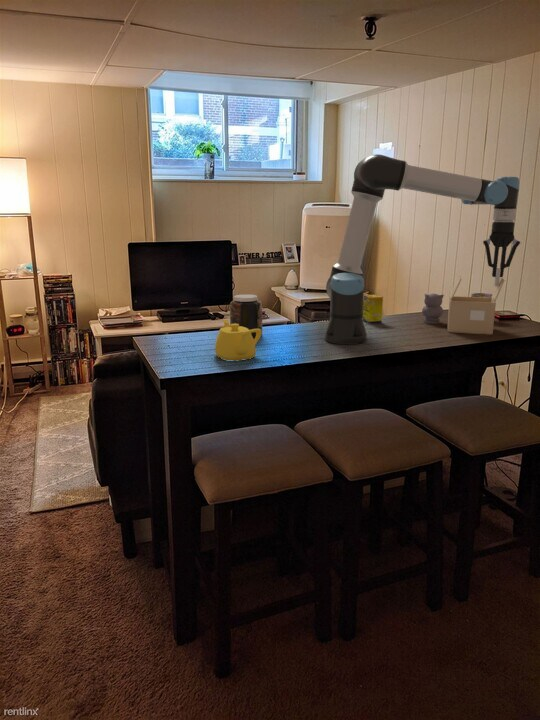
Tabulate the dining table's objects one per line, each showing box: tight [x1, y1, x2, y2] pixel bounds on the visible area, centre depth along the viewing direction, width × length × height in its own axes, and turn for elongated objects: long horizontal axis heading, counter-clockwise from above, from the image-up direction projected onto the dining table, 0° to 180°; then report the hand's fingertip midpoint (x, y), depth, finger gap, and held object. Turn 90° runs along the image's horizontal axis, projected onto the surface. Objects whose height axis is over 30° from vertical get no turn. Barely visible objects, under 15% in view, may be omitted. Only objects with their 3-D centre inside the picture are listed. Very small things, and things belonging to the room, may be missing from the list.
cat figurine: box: [421, 293, 445, 325], centre depth 227 cm, size 8×8×12 cm
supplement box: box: [363, 294, 384, 324], centre depth 229 cm, size 6×6×11 cm
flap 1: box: [449, 275, 462, 300], centre depth 212 cm, size 8×11×1 cm
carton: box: [446, 295, 497, 335], centre depth 213 cm, size 16×12×12 cm
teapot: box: [214, 319, 263, 360], centre depth 178 cm, size 22×16×11 cm
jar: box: [229, 294, 263, 339], centre depth 205 cm, size 12×12×15 cm
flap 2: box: [491, 277, 505, 303], centre depth 208 cm, size 8×11×1 cm
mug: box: [470, 292, 493, 298], centre depth 233 cm, size 12×9×11 cm
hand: (496, 285), depth 207 cm, fingers closed
